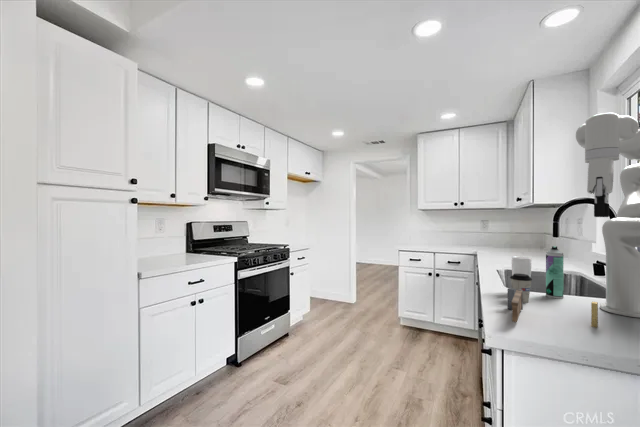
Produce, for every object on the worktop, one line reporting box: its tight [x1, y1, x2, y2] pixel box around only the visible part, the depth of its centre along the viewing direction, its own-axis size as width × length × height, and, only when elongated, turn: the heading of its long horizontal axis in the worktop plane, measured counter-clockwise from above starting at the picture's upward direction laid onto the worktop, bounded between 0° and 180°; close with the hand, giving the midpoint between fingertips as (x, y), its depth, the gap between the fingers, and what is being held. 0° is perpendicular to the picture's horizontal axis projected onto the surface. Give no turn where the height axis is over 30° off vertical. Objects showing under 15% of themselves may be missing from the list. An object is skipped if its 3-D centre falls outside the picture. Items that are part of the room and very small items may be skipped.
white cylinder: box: [511, 255, 532, 278], centre depth 123 cm, size 7×7×15 cm
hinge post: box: [507, 287, 516, 311], centre depth 104 cm, size 2×2×7 cm
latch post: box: [590, 301, 599, 329], centre depth 88 cm, size 2×1×7 cm, turn 131°
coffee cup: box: [509, 274, 533, 304], centre depth 113 cm, size 7×7×10 cm
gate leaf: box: [511, 289, 524, 323], centre depth 95 cm, size 19×2×7 cm, turn 143°
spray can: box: [545, 245, 564, 300], centre depth 119 cm, size 6×6×20 cm
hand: (601, 216), depth 90 cm, fingers closed
